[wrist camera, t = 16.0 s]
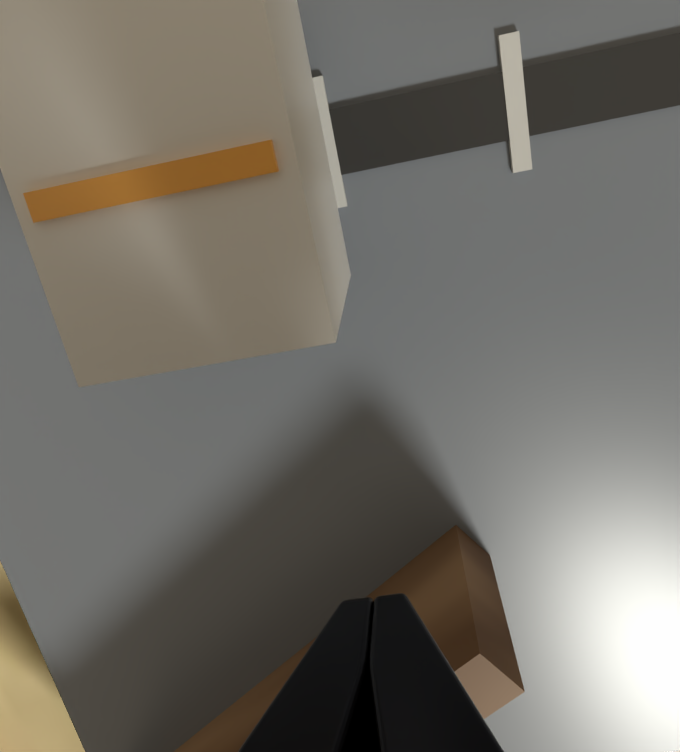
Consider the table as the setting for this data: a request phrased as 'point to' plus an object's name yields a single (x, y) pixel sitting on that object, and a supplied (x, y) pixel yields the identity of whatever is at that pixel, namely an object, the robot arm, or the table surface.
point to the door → (444, 622)
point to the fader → (170, 180)
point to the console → (396, 396)
